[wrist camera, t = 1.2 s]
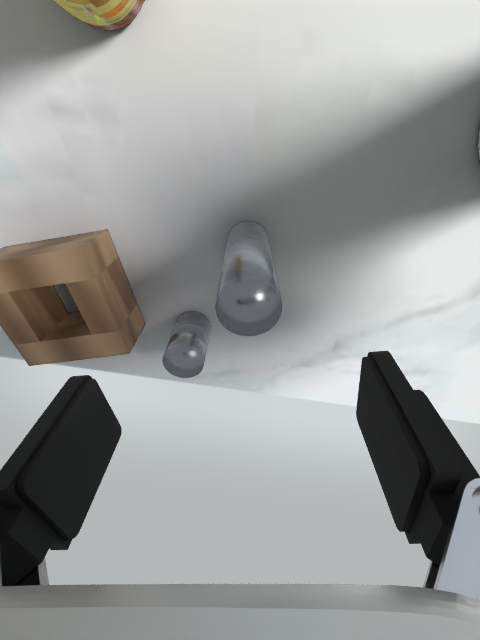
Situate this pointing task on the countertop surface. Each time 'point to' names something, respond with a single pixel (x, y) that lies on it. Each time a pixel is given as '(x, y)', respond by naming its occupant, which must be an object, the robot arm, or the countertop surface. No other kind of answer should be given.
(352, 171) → the countertop surface
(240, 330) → the long pin
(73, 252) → the hole block
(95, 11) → the sauce bottle
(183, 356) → the short pin
